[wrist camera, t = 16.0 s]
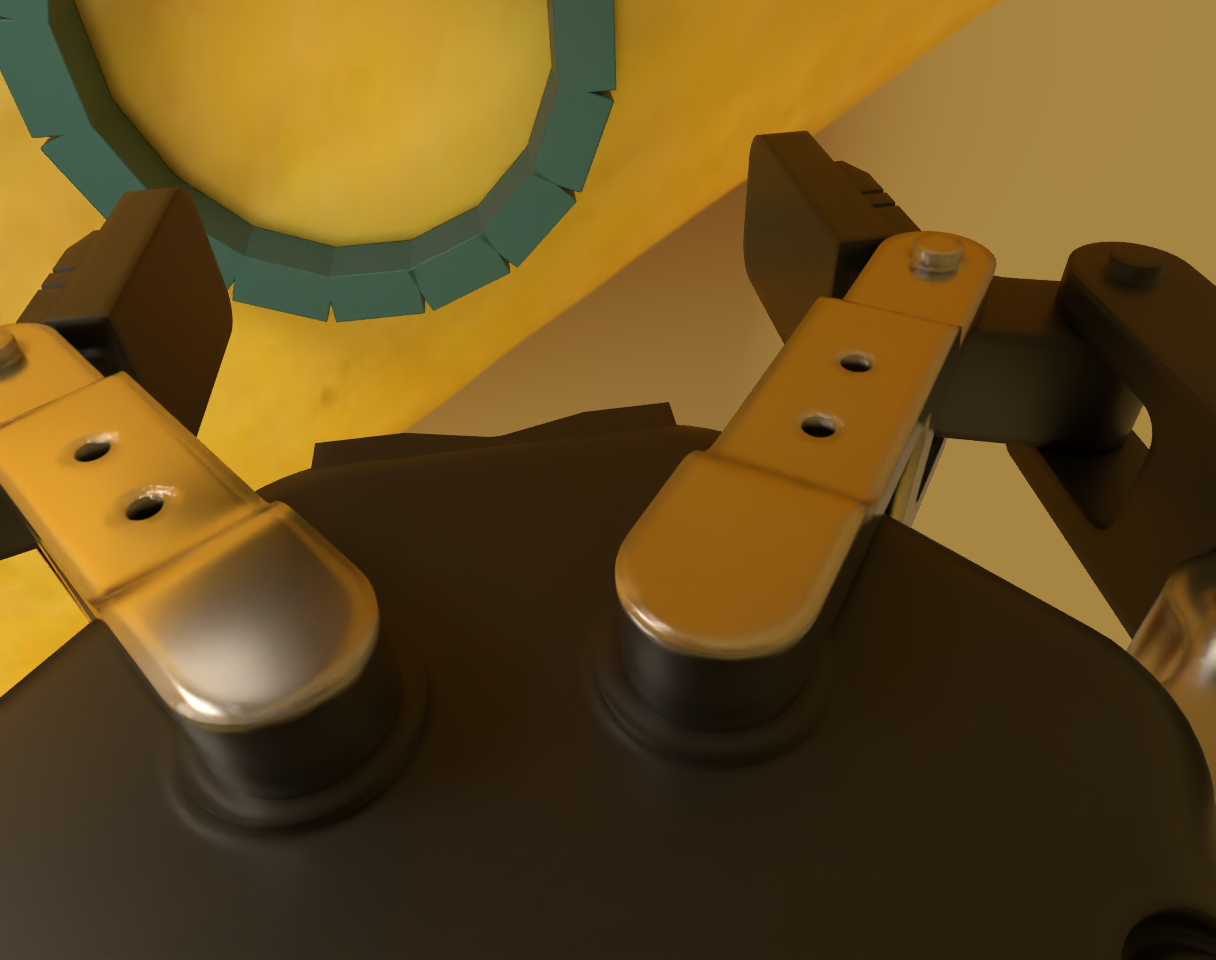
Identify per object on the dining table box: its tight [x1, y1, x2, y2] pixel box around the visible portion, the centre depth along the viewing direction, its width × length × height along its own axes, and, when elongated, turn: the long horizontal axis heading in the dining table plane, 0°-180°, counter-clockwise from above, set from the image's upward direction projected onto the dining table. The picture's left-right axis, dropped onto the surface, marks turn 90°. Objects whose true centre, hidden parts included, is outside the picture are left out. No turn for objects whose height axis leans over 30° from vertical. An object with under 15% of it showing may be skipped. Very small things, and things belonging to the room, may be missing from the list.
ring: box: [0, 0, 616, 322], centre depth 35 cm, size 23×23×3 cm
